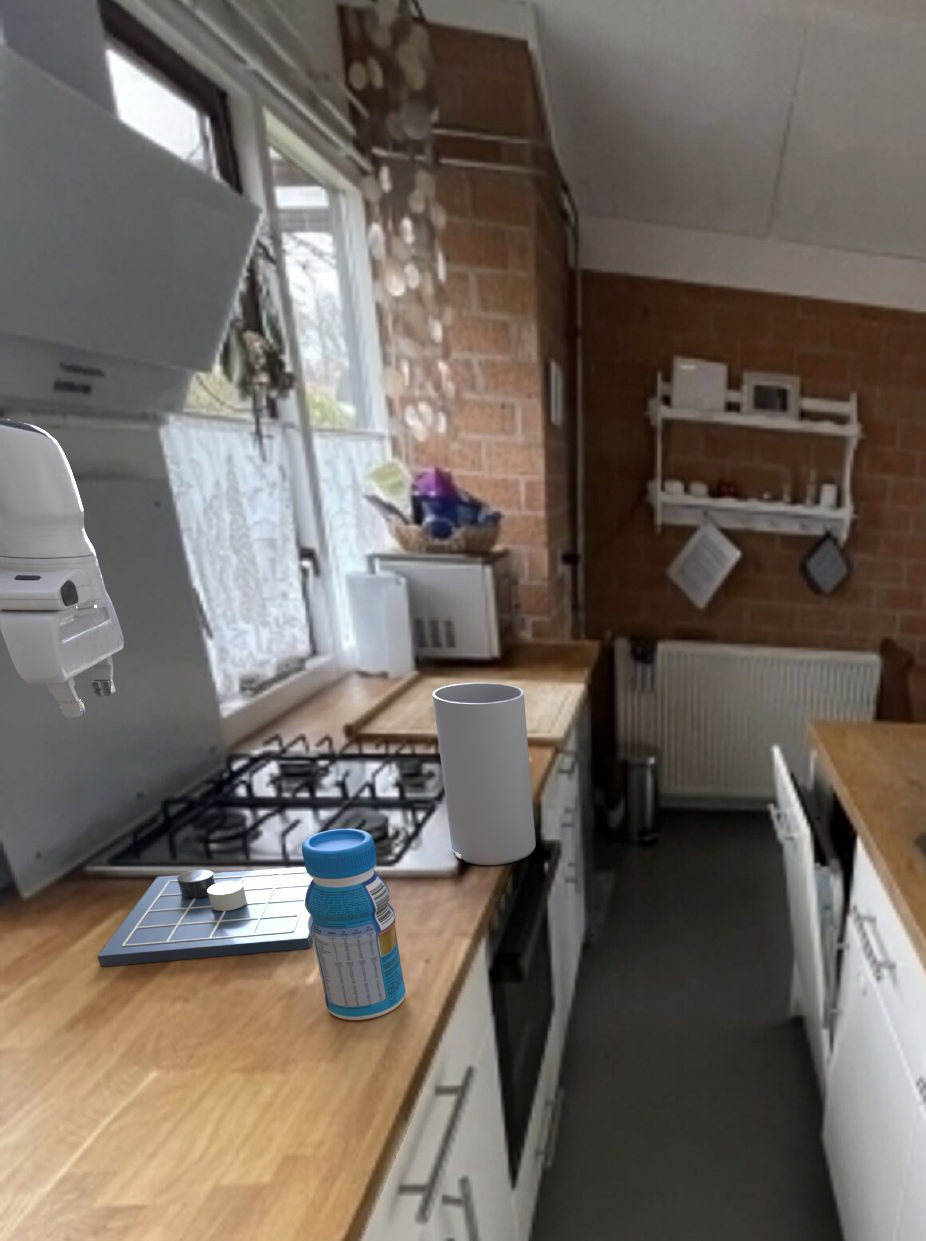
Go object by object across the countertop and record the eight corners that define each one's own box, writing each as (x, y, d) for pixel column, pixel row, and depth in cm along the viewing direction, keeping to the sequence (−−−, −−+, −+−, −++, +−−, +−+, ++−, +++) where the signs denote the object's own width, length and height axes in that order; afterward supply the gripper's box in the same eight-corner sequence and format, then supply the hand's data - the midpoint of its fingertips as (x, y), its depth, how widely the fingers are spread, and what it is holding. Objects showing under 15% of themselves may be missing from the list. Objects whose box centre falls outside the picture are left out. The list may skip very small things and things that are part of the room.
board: (100, 967, 103) (96, 954, 102) (160, 886, 121) (156, 875, 120) (310, 948, 109) (307, 936, 108) (336, 874, 128) (333, 864, 127)
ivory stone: (207, 912, 112) (203, 895, 111) (215, 898, 116) (211, 882, 115) (243, 909, 113) (239, 893, 112) (250, 896, 117) (246, 879, 116)
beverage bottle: (344, 1032, 94) (309, 863, 85) (313, 999, 99) (278, 836, 90) (420, 1004, 100) (396, 842, 91) (388, 974, 105) (361, 818, 96)
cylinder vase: (510, 872, 132) (494, 708, 121) (435, 860, 134) (413, 697, 123) (550, 841, 143) (539, 688, 132) (480, 830, 145) (464, 679, 134)
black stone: (177, 899, 115) (173, 883, 114) (186, 886, 118) (182, 870, 117) (212, 897, 116) (208, 880, 115) (220, 884, 119) (216, 868, 118)
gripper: (58, 569, 105) (93, 684, 111) (-26, 594, 88) (20, 729, 94) (120, 570, 107) (151, 683, 113) (50, 595, 90) (90, 727, 96)
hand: (91, 704), depth 104 cm, fingers open, 8 cm apart
